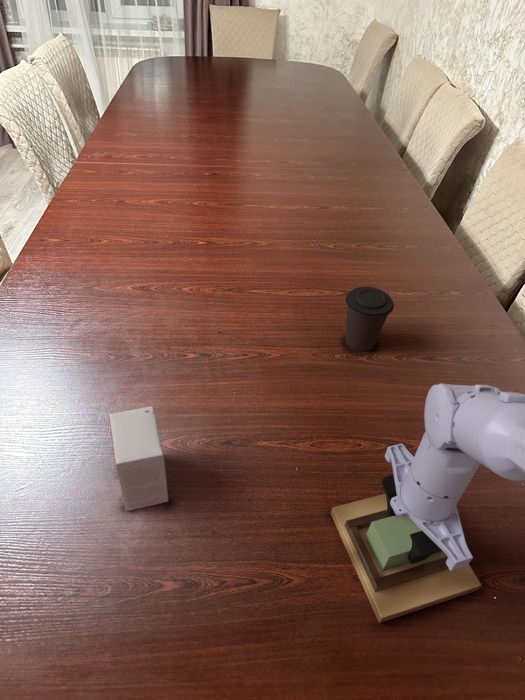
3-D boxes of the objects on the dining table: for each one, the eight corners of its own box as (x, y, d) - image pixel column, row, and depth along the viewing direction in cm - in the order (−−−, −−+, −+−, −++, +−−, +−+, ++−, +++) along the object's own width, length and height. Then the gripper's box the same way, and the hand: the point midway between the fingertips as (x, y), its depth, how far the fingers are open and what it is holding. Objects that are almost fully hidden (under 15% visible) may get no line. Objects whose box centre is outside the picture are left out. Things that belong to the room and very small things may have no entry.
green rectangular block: (441, 553, 63) (450, 539, 61) (382, 571, 61) (389, 557, 59) (422, 520, 66) (430, 505, 64) (365, 536, 64) (371, 521, 62)
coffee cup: (391, 344, 93) (405, 299, 86) (362, 363, 89) (374, 318, 82) (357, 321, 97) (368, 276, 91) (328, 338, 93) (336, 293, 86)
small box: (118, 462, 71) (107, 412, 64) (159, 453, 73) (153, 403, 66) (125, 513, 66) (114, 465, 59) (169, 503, 67) (163, 454, 60)
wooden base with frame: (477, 590, 61) (485, 580, 60) (379, 623, 58) (384, 613, 56) (417, 490, 71) (423, 479, 69) (330, 513, 68) (333, 502, 66)
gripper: (372, 427, 57) (350, 495, 67) (443, 549, 47) (406, 608, 57) (428, 415, 59) (399, 482, 68) (507, 530, 49) (461, 590, 58)
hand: (406, 538), depth 63 cm, fingers closed on green rectangular block, 4 cm apart
